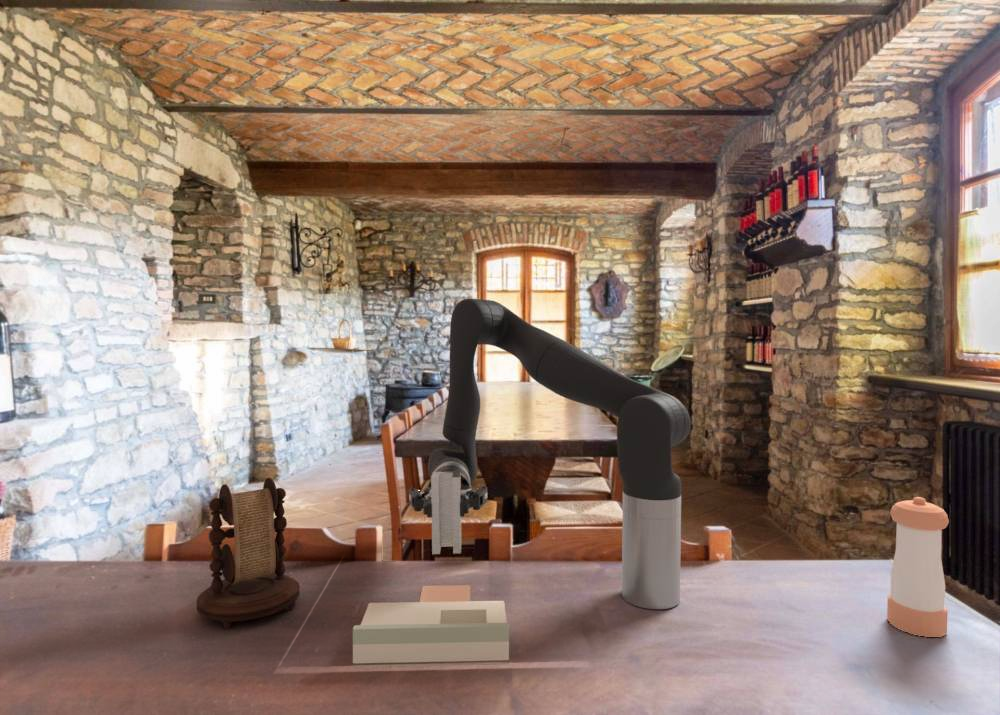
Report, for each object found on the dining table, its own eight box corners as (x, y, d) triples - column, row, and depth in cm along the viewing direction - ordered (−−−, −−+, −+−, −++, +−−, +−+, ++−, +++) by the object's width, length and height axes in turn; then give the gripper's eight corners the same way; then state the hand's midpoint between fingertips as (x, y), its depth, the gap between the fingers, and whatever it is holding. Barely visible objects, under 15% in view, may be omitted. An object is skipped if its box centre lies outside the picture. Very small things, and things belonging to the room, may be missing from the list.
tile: (422, 589, 100) (422, 585, 100) (470, 588, 100) (470, 585, 100) (418, 611, 92) (418, 607, 92) (470, 610, 92) (470, 606, 92)
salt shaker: (939, 620, 89) (943, 494, 89) (953, 642, 83) (956, 506, 82) (883, 611, 92) (885, 489, 92) (891, 631, 86) (894, 500, 85)
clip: (434, 544, 98) (432, 471, 97) (461, 543, 98) (460, 471, 98) (432, 554, 93) (431, 478, 93) (460, 553, 93) (459, 477, 93)
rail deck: (369, 622, 88) (369, 589, 88) (503, 620, 89) (504, 587, 89) (352, 667, 76) (352, 629, 76) (508, 664, 77) (509, 626, 77)
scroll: (213, 642, 82) (211, 499, 82) (185, 606, 93) (183, 479, 93) (315, 610, 92) (314, 482, 91) (279, 581, 103) (278, 466, 102)
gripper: (410, 465, 109) (399, 488, 92) (488, 463, 110) (491, 485, 93) (411, 506, 109) (400, 536, 92) (488, 504, 110) (492, 533, 93)
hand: (446, 510), depth 93 cm, fingers closed on clip, 4 cm apart
